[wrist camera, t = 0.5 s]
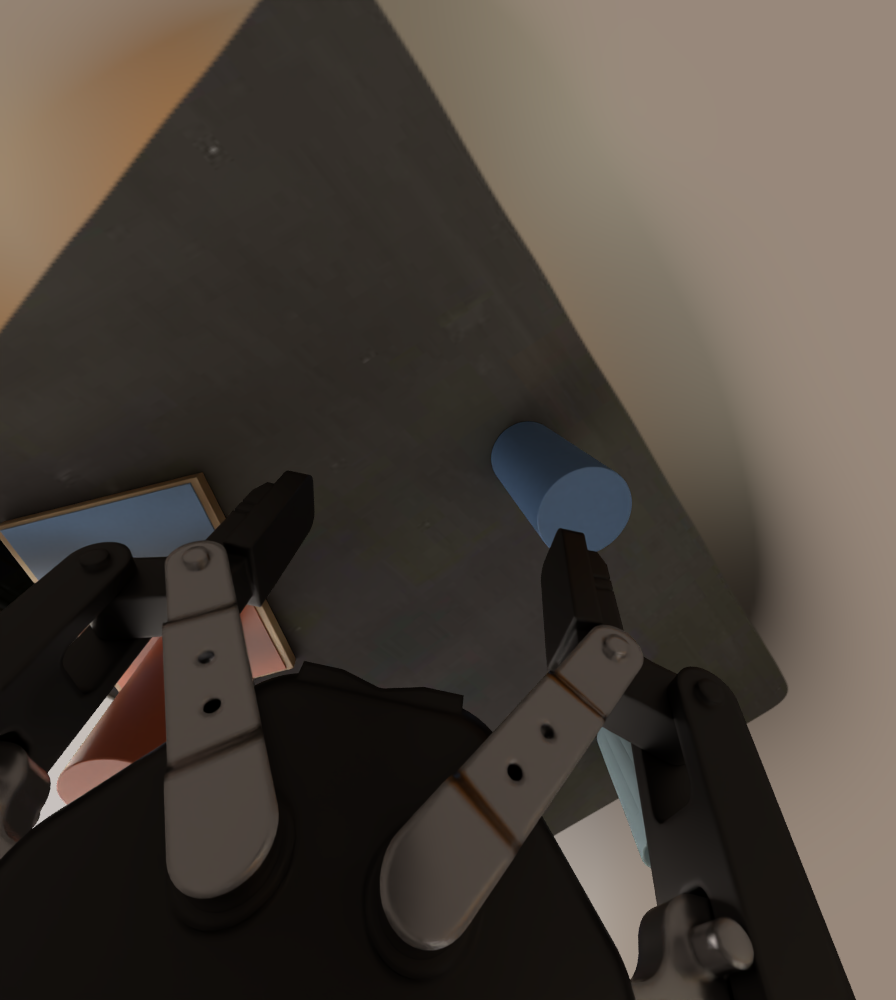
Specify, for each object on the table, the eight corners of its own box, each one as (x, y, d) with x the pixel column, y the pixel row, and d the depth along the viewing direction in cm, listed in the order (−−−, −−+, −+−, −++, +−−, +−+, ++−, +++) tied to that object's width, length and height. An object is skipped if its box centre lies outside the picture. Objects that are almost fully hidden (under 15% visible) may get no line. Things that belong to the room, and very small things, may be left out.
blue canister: (485, 431, 29) (531, 481, 20) (554, 413, 29) (630, 455, 20) (497, 494, 31) (543, 566, 22) (561, 478, 31) (633, 542, 22)
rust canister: (140, 638, 30) (34, 774, 21) (207, 620, 30) (131, 748, 21) (173, 686, 32) (89, 828, 23) (236, 669, 32) (178, 804, 23)
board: (4, 521, 27) (-12, 529, 26) (202, 471, 27) (195, 477, 26) (140, 700, 34) (132, 712, 33) (296, 658, 34) (293, 669, 33)
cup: (573, 752, 44) (625, 869, 35) (607, 700, 42) (673, 811, 32) (631, 759, 46) (696, 872, 36) (667, 710, 43) (746, 817, 34)
